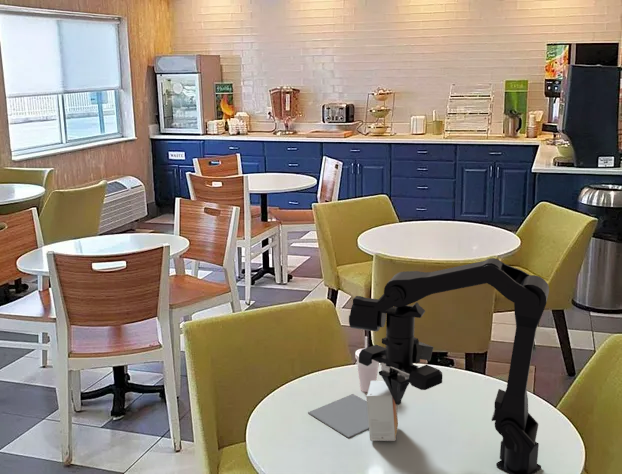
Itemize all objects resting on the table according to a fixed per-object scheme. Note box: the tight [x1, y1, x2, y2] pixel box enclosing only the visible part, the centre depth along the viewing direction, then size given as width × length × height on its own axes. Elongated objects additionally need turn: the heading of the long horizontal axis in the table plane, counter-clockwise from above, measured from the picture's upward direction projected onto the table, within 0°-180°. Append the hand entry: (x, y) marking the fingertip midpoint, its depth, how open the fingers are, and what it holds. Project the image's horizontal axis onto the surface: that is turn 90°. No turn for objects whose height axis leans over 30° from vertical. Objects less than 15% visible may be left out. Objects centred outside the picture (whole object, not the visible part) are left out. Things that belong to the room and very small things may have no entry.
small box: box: [365, 380, 399, 442], centre depth 150 cm, size 8×6×10 cm
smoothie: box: [354, 336, 380, 393], centre depth 171 cm, size 6×6×14 cm
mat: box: [307, 393, 369, 439], centre depth 160 cm, size 14×14×1 cm
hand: (398, 404), depth 145 cm, fingers closed
